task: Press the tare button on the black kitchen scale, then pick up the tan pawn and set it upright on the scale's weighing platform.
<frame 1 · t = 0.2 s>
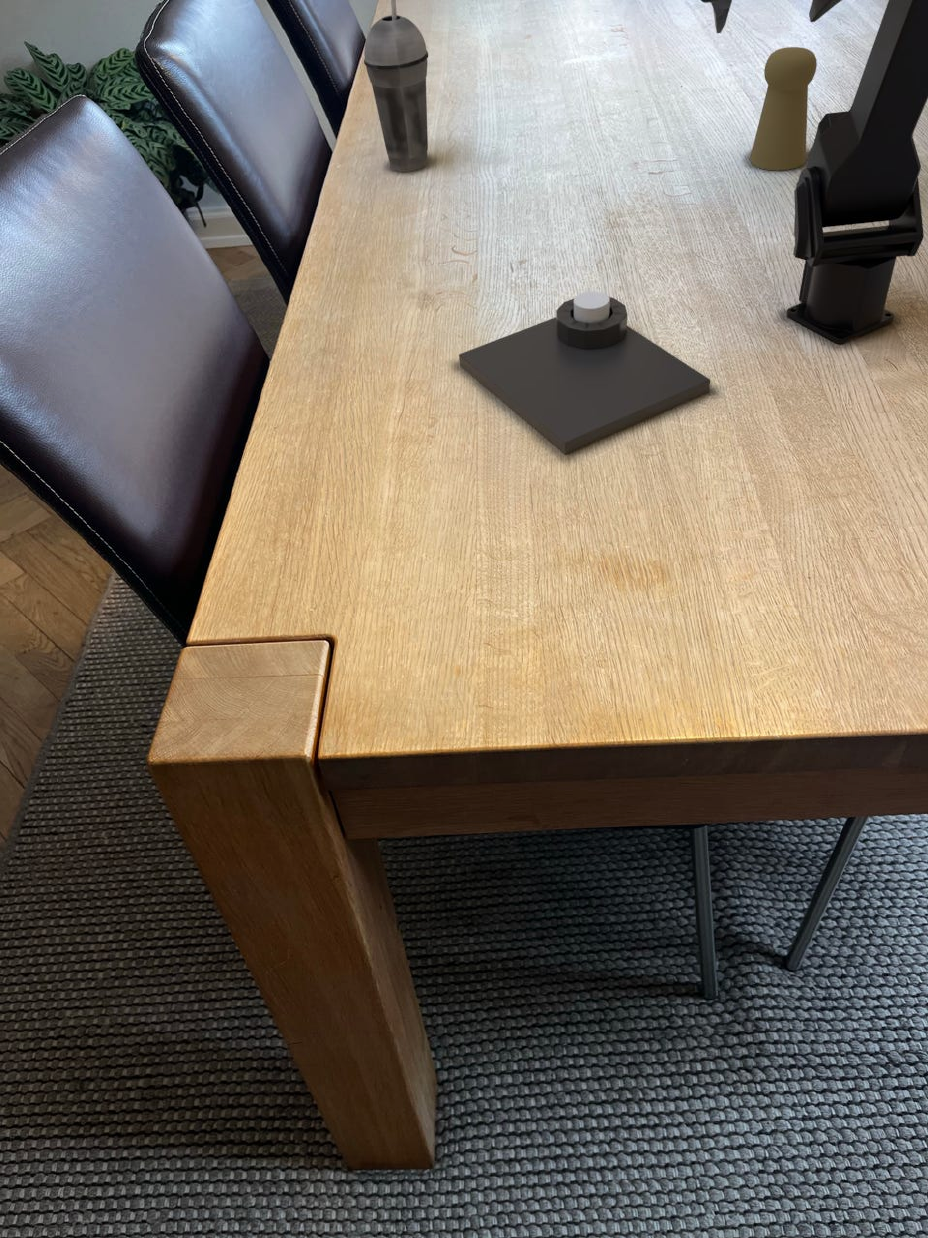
hand: (764, 23, 95), 15 cm above the table, tool tilted 30°, fingers open, 9 cm apart
scale: (580, 378, 81), on the table
tan pawn: (777, 161, 108), on the table
tare button: (591, 307, 82), point 3 cm above the table, slide at 0.1 cm
beverage cup: (409, 165, 116), on the table
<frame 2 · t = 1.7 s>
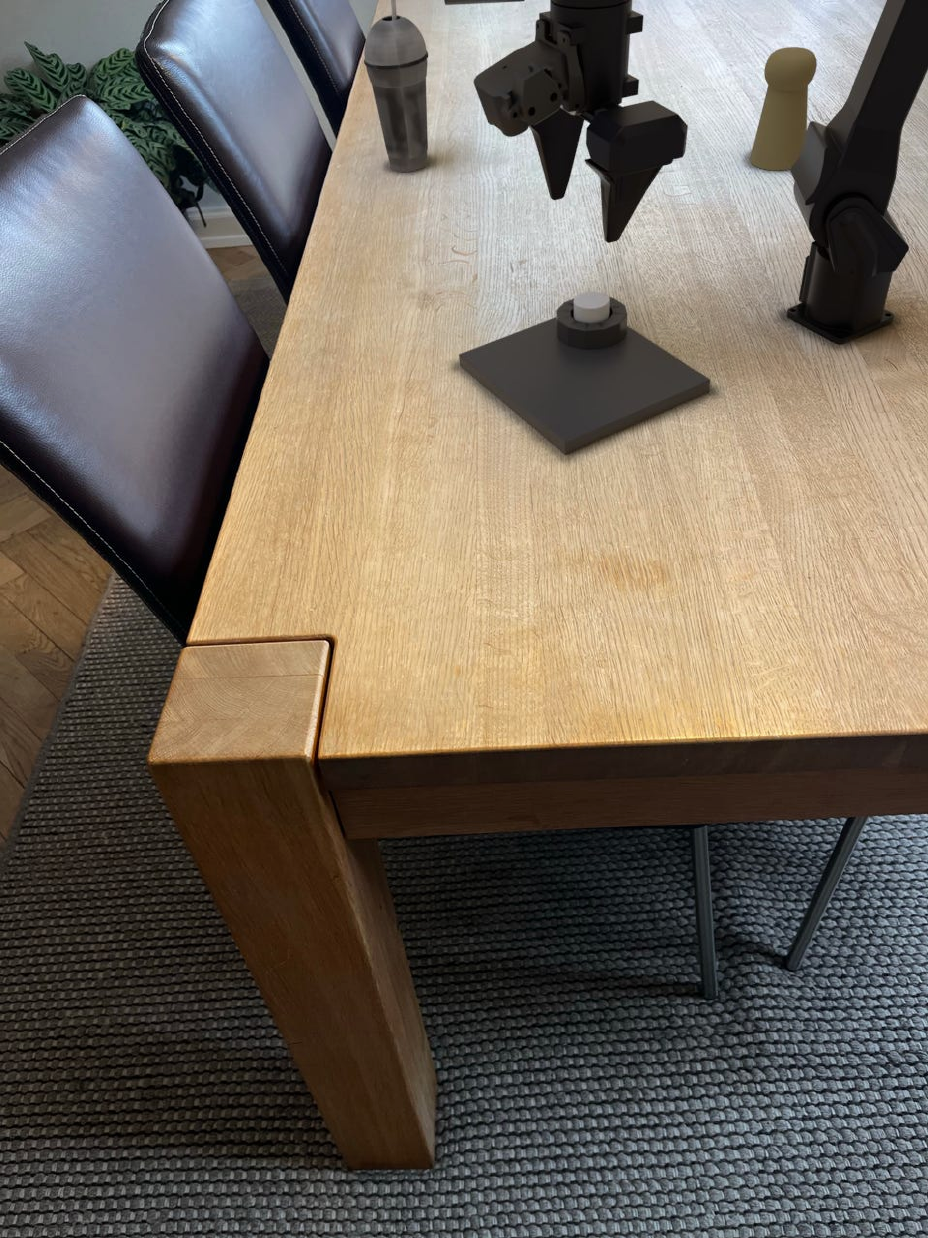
hand: (583, 219, 79), 10 cm above the table, tool pointing down, fingers open, 9 cm apart
nothing on the table moved.
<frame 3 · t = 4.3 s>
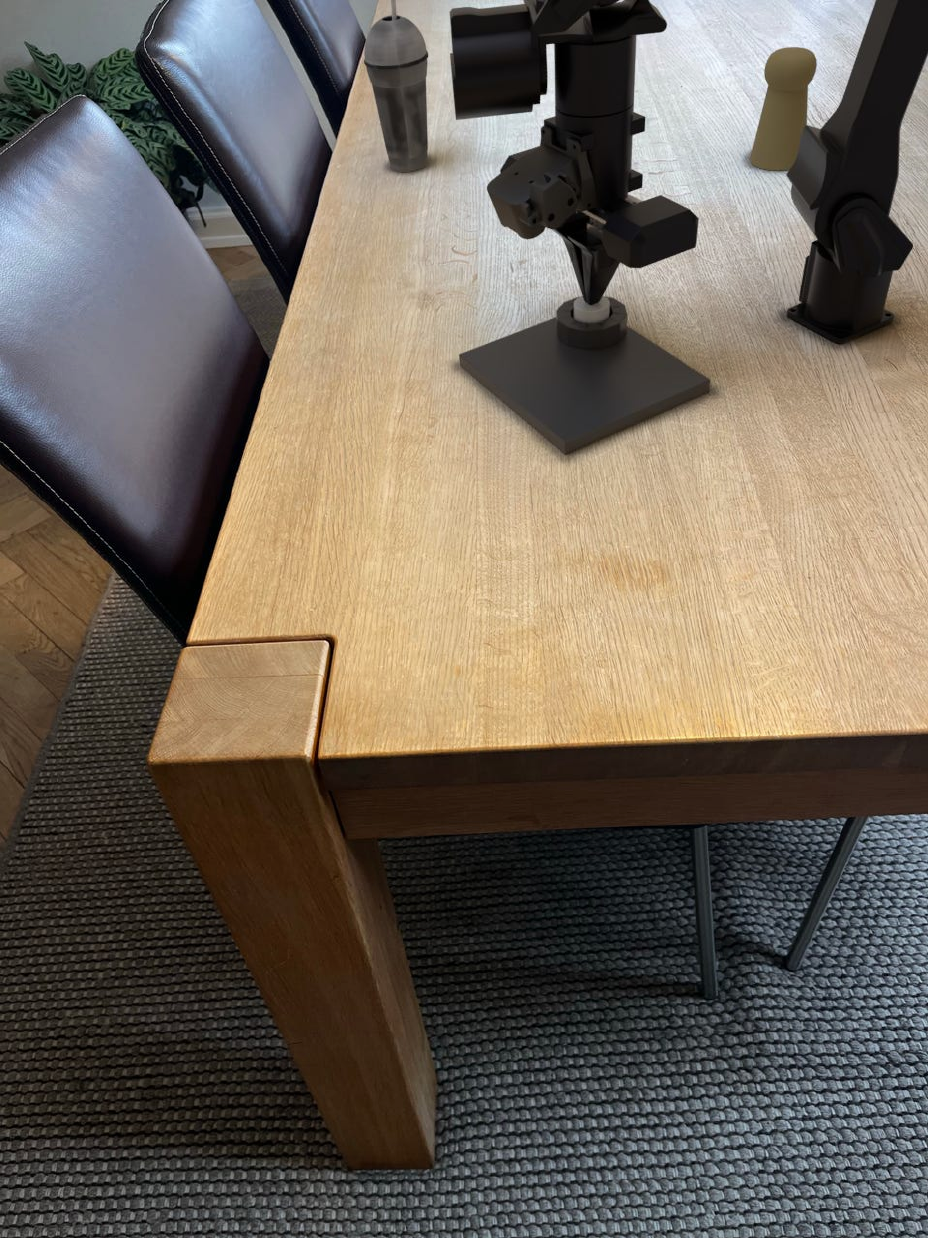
hand: (592, 302, 82), 4 cm above the table, tool pointing down, fingers closed, pressing on tare button
tare button: (591, 310, 82), point 3 cm above the table, slide at -0.2 cm, touching gripper
everything else where it was.
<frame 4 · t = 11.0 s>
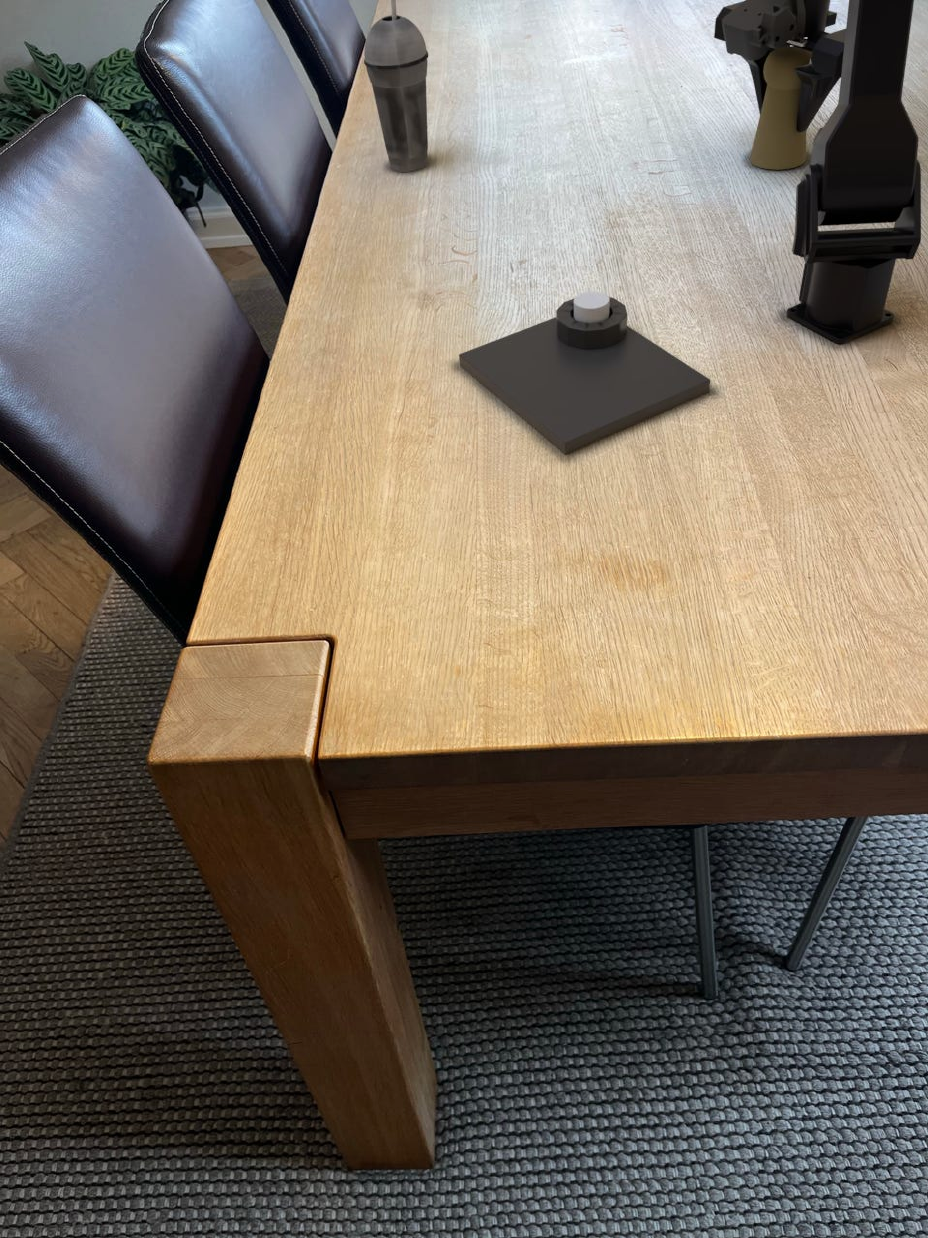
hand: (782, 123, 106), 4 cm above the table, tool pointing down, fingers closed on tan pawn, 5 cm apart
tan pawn: (777, 160, 108), on the table, touching gripper
tare button: (591, 307, 82), point 3 cm above the table, slide at 0.1 cm
everything else where it was.
when the fingers open (5 cm above the table, at t = 18.2 s): tan pawn stays where it is, resting on scale.
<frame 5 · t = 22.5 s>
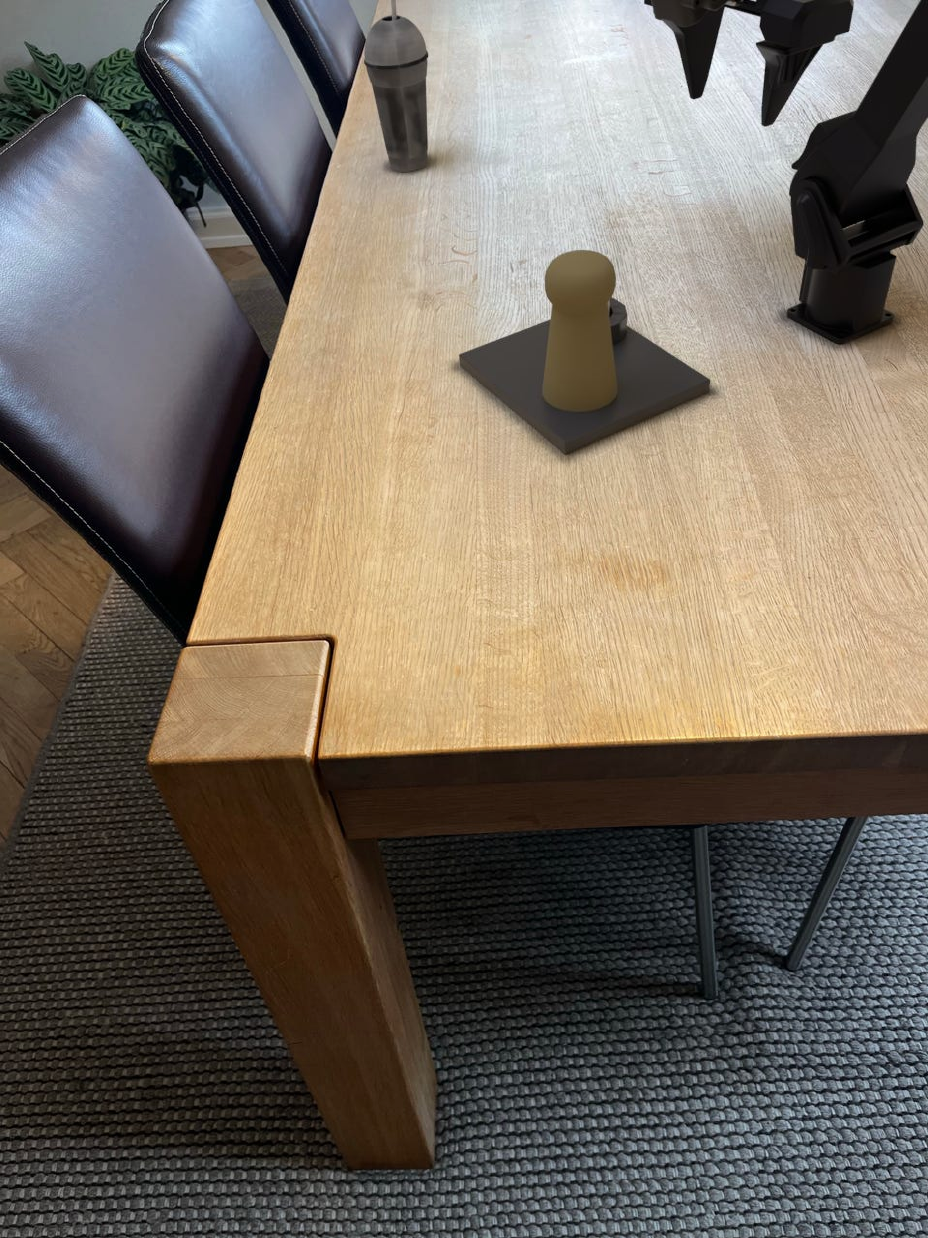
hand: (730, 111, 85), 13 cm above the table, tool pointing down, fingers open, 9 cm apart
tan pawn: (579, 392, 78), point 1 cm above the table, touching scale
everything else where it was.
at the end: tare button pushed in 1.3 cm at the most during the clip, back to where it started at the end; tan pawn inside the target area on the scale (0.6 cm from its centre), point 1.0 cm above the scale's base; tan pawn touching scale; tan pawn tilted 0° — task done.
